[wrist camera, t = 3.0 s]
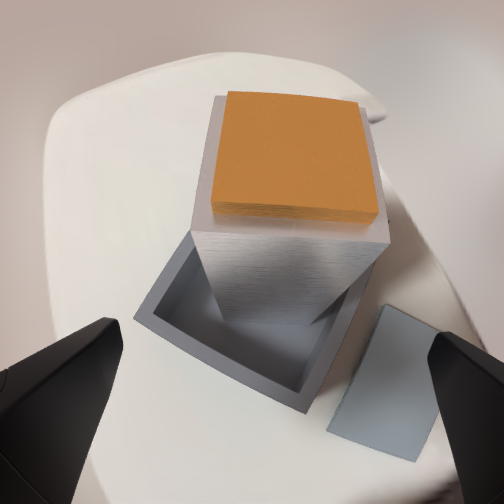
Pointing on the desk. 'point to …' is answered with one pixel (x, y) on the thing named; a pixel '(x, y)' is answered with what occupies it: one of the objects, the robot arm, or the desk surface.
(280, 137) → the block
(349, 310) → the case
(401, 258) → the desk surface
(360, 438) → the mat
